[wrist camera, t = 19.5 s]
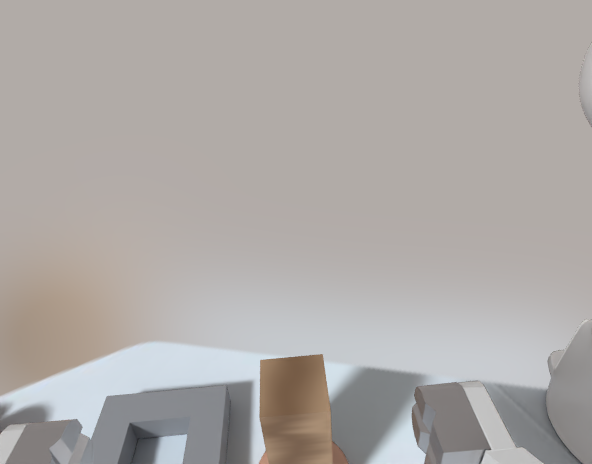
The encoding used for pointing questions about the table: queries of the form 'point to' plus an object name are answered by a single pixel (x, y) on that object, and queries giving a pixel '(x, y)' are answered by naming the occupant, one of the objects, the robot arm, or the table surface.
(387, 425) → the table surface
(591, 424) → the robot arm
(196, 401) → the pocket holder
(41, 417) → the table surface
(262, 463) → the terracotta coaster
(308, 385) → the walnut block
